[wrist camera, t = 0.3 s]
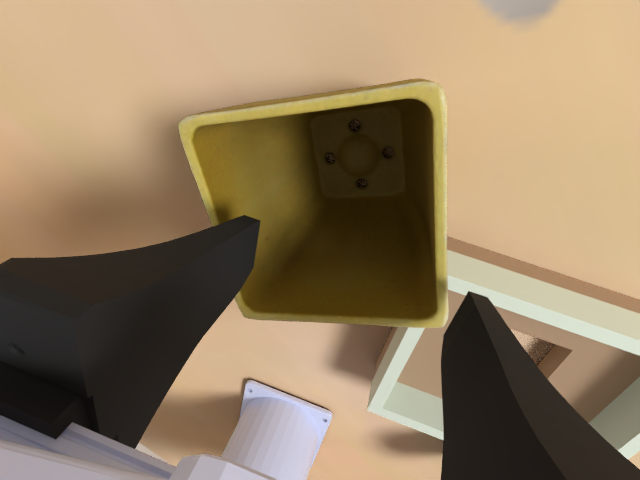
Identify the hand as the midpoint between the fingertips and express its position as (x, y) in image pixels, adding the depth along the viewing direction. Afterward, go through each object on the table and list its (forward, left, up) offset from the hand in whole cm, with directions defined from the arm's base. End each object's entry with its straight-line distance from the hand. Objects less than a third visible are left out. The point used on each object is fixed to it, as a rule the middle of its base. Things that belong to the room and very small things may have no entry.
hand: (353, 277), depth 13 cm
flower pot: (+1, +2, -10) cm, 10 cm away
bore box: (-8, -11, -10) cm, 17 cm away
